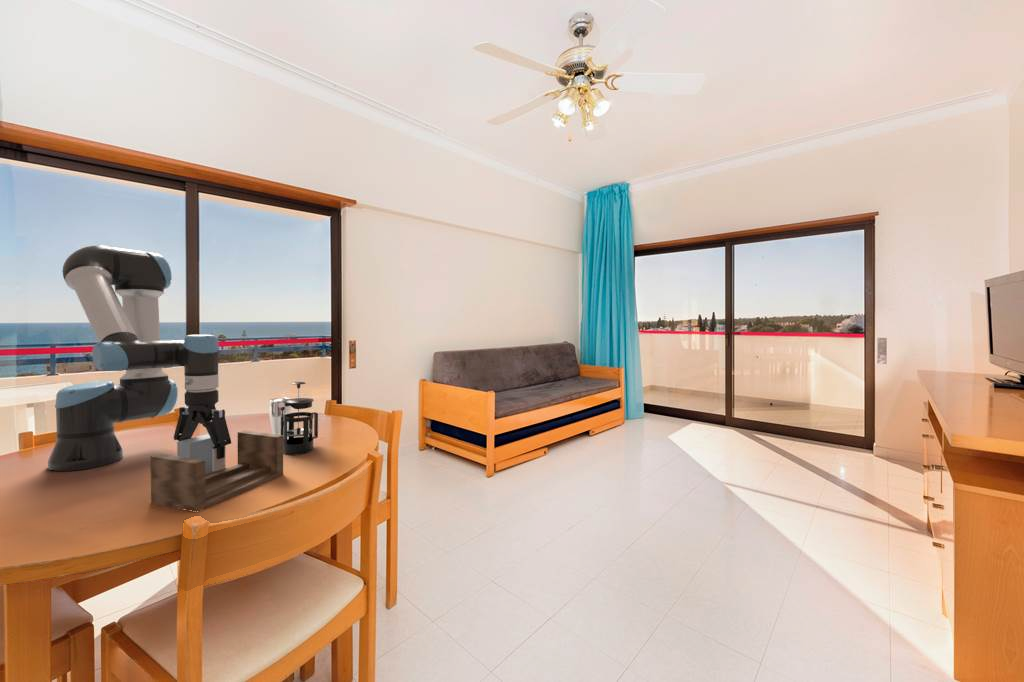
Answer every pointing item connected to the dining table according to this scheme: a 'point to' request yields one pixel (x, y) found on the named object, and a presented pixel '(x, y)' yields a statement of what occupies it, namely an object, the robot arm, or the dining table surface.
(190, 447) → the plain grey rectangular block
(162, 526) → the dining table surface
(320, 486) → the dining table surface
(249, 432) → the track base
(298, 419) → the french press
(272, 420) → the white silver canister
